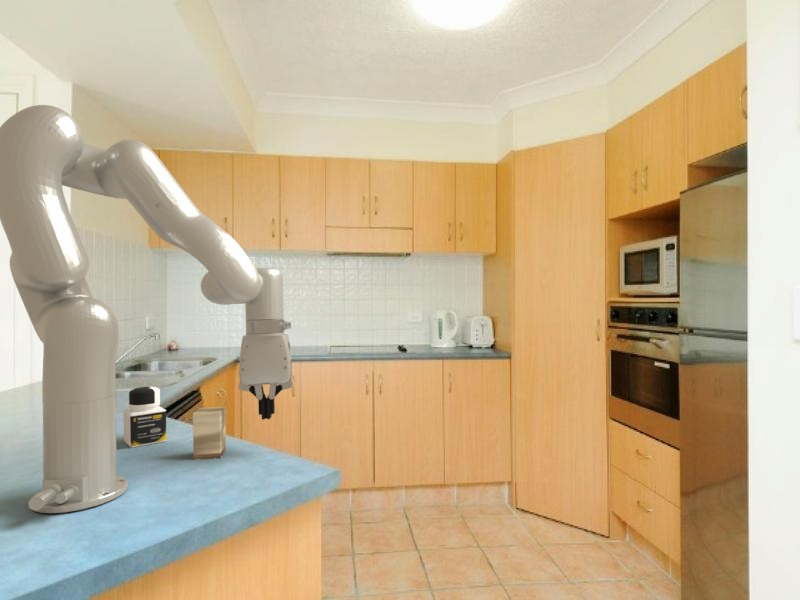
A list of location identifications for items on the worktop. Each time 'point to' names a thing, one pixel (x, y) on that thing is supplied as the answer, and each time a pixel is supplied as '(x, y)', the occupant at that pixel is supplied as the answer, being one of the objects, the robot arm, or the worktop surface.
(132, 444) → the medicine bottle
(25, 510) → the worktop surface
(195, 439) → the birch block
